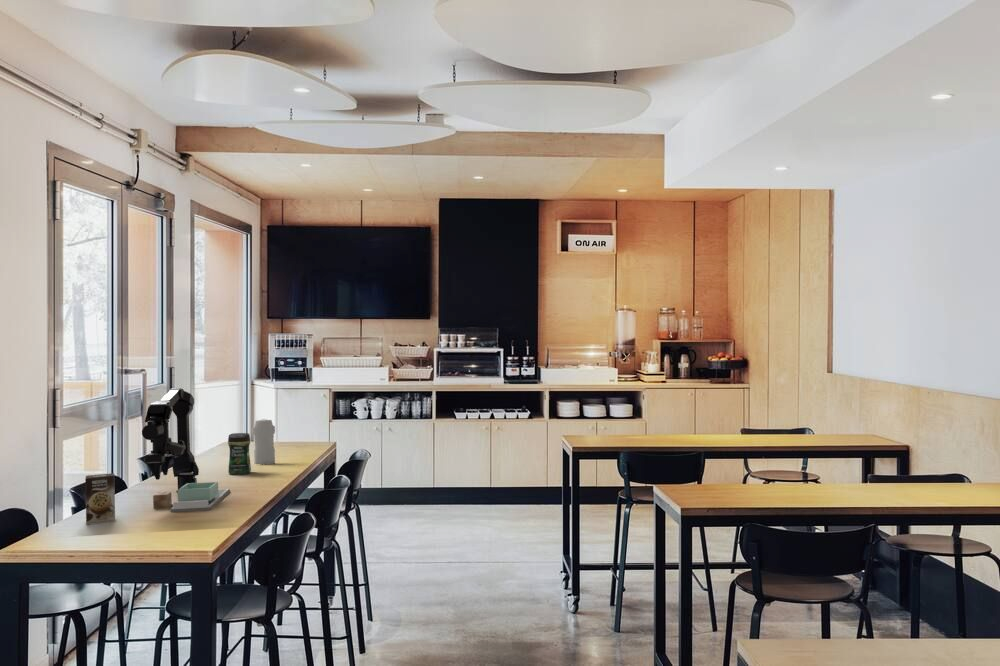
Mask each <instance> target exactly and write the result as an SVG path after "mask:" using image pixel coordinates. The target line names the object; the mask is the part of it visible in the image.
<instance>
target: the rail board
mask: <svg viewBox="0 0 1000 666" xmlns="http://www.w3.org/2000/svg"><path fill="white" fill-rule="evenodd" d="M230 493H231V489H230V488H228V487H227V489H218V495H216V496H215V497H214V498H213V499H212V500H211V501H209V503H208V500H202V501H182V502H178V501H174V502H173V506H172V507H171V508H170V512H171V513H178V512H196V511H201V512H202V511H211V510H212V509H213V508H215V507H216V506H217V505H218V504H219V503H220V502H221V501H222V500H223V499H224V498H225V497H226V496H228V495H229V494H230Z"/></svg>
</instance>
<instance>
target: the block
mask: <svg viewBox="0 0 1000 666" xmlns="http://www.w3.org/2000/svg"><path fill="white" fill-rule="evenodd" d="M152 503H153V506H152V507H153V509H167V508H169V507H170V506H171V505H172V491H162V492H161V491H160V492H156V493H155V494H153V495H152Z"/></svg>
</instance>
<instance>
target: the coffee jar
mask: <svg viewBox="0 0 1000 666" xmlns="http://www.w3.org/2000/svg"><path fill="white" fill-rule="evenodd" d="M227 437H228V439H227V445H228V447H229V460H228V474H229V475H233V474H239V475H246V474H249V473H251V471H252V464H251V457H250V444H251V436H250V433H248V432H238V433H237V432H236V433H235V432H233V433H230V434H228V436H227Z"/></svg>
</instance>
